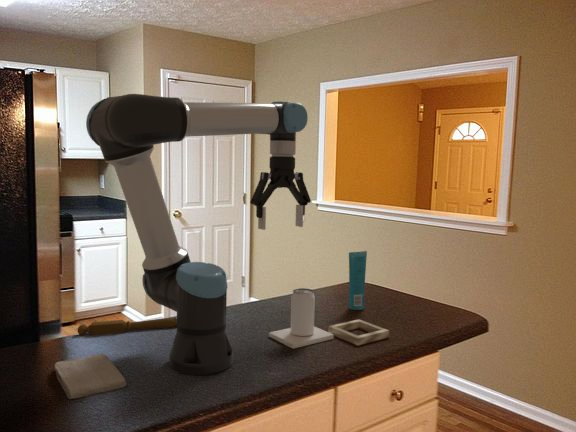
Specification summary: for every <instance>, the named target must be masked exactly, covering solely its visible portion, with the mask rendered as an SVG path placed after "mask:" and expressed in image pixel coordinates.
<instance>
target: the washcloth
mask: <svg viewBox="0 0 576 432" xmlns="http://www.w3.org/2000/svg"><path fill="white" fill-rule="evenodd" d="M54 370H55V371H54V372H55V375H56V378H57V380H58V382H59V383H60V386H61V388H62V389H63V391H64V392H65V394H66V397H67V398H68V399H69V400H73V399H79V398H84V397H88V396H91V395H95V394H99V393H106V392H110V391H113V390H117V389H118V390H119V389H122V388H125V387H126V386H127V381H126V378H125V377H124V375H123V374H122V373H121V372H120V371H119V370H118V368H117V366H116V365H115V364H114V363H113V361H111V360H110V358H109V356H107V354H105V353H97V354H94V355H91V356H90V355H89V356H86V357H82V358H81V357H80V358H79V357H78V358H77V357H76V358H69V359H66V360H61V361H57V362H56V363H55V364H54ZM57 375H59V376H57Z"/></svg>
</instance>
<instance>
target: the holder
mask: <svg viewBox="0 0 576 432" xmlns="http://www.w3.org/2000/svg"><path fill="white" fill-rule="evenodd" d="M355 329H360V330H363V331H365V332H368V333H364V334H359V335H357V334H354V333H352V332H350V331H352V330H355ZM327 330H328V331H327V332H329V333H331V334H333V335H334V337H337V338H339V339H341V340H343V341H346V342H348V343H351V344H353V345H355V346H357V347H358V346H361V345H366V344H369V343H372V342H373V343H374V342H376V341H380V340H384V339H388V338H390V330H389V329H387V328H383V327H381V326H379V325H376V324H374V323H371V322H367V321H366V320H362V319H354V320H349V321H344V322H341V323H336V324H333V325H329V326H328V329H327Z"/></svg>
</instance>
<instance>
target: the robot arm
mask: <svg viewBox="0 0 576 432" xmlns="http://www.w3.org/2000/svg"><path fill="white" fill-rule="evenodd" d="M85 121H86V122H85V123H86V125H85V127H86V131H87V134H88V136H89V138H90V139H91V140H92V141H93V142H94V144H96V145H97V146H99V148H100V151H101V154H102V157H103V159H104V161H105V163H106V164H108V165H110V166H112V167H114V170H115V173H116V176H117V179H118V182H119V184H120V188H121V189H122V193H123V196H124V199H125V202H126V204H127V208H128V210H129V213H130V216H131V218H132V222H133V224H134V227H135V230H136V233H137V235H138V239H139V241H140V244H141V248H142V250H143V253H144V255H145V259H144V260H143V262H142V264H141V266H142V267H141V268H142V270H143V275H142V278H141V279H142V282H141V283H142V287H143V290H144V292H145V293H146V295H147V296H148V297H149V298H150V299H151V300H152V301H153V302H154V303H156V304H158V305H161V306H163V307H165V308H167V309H170V310H172V311H174V312H176V318H177V326H176V333H175V337H174V340H173V343H172V346H171V349H170V352H169V356H168V363H169V365H168V366H169V367H170V368H171V370H172V371H175V372H177V373H179V374H184V375H190V376H192V375H193V376H203V375H205V376H206V375H213V374H217V373H221V372H224V371H225V370H227V369H229V368H230V367H232V365H233V364H234V351H233V348H232V347H233V346H232V345H231V342H230V339H229V336H228V332H227V299H228V298H227V295H228V294H227V293H228V292H227V291H228V282H227V281H228V280H227V273H226V271H225V270H224V269H223V268H222V267H221V266H219V265H217V264H213V263H210V262H209V263H206V262H204V261H193V262H192V261H191V259H190V256H189V253H188V250H187V248H184V247H182V246H180V245H179V242H178V238H177V235H176V232H175V229H174V226H173V223H172V220H171V217H170V214H169V210H168V208H167V205H166V201H165V198H164V195H163V192H162V189H161V187H160V183H159V180H158V177H157V174H156V170H155V168H154V164H153V162H152V159H151V155H152V153H153V151H154V149H155V147H154V145H158V144H159V145H160V144H164V143H172V142H173V143H175V142H177V143H178V142H183V140H184V139H185V138H186V137H207V136H233V135H234V136H235V135H237V136H238V135H254V134H255V135H257V134H258V135H269V154H270V155H271V156H270V157H269V169H270V170H269V172H265V171H262V172H260V175H259V176H260V177H259V181H258V183H257V186H256V188H255V190H254V192H253V194H252V197H251V200H250V204H251V205H253V206H255V207H256V212H255V214H256V218H258V220H257V221H258V223H257V229H259V230H263V231H264V230H266V225H267V224H266V219H267V217H266V216H267V213H266V212H267V208H266V206H265V205H266V203H267V201H268V200H269V199H270V198H271V196H272V194H274V191H275V190H277V189H278V188H279V189H282V188H285V189H288V190H289V192H290V193H291V195H292V196H293V198H294V199H295V201H296V203H297V204H296V205H295V227H299V228H303V227H304V216H305V214H306V212H305V211H306V206H307V205H308V204H310V203H311V201H312V200H311V197H310V194H309V192H308V189H307V186H306V183H305V181H304V173H303V172H298V171H296V172H295V168H296V157H294V156H295V155H296V151H297V150H296V148H297V147H296V146H297V145H296V144H297V141H296V140H297V137H296V136H297V133H299V132H301V131H303V130H304V129H305V128H306V126H307V124H308V121H309V120H308V111H307V109H306V107H305V106H304V105H303V104H301V102H292V101H272V102H271V103H270V102H195V101H194V102H192V101H191V102H190V101H188V102H187V101H185V102H184V101H183V99H181V98H180V97H168V96H167V97H166V96H156V95H148V94H141V93H126V94H123V95H116V96H114V95H113V96H110V97H109V96H108V97H106V98H103V99H102V100H100V101H97V102H96V103H94V105H93V106H91V108H90V110H89V112H88V114H87V116H86V120H85ZM269 180H270V181H269ZM268 182H269V183H268Z"/></svg>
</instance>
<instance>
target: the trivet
mask: <svg viewBox="0 0 576 432" xmlns="http://www.w3.org/2000/svg"><path fill="white" fill-rule="evenodd" d="M268 337H269V338H271V339H273V340H275V341H276V342H279V343H281V344H283V345H285V346H286V347H288V348H291V349H297V348H301V347H305V346H310V345H313V344H318V343H322V342H326V341H330V340H334V338H335V336H334V335H333V334H331V333H329V332H328V331H326V330H323V329H322V328H319V327H317V326H315V325H314V333H313V334H312V335H311V336H306V337H299V336H295V335H293V334H292V333H291V327H287V328H284V329H279V330H274V331H270V332H269V333H268Z"/></svg>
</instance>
